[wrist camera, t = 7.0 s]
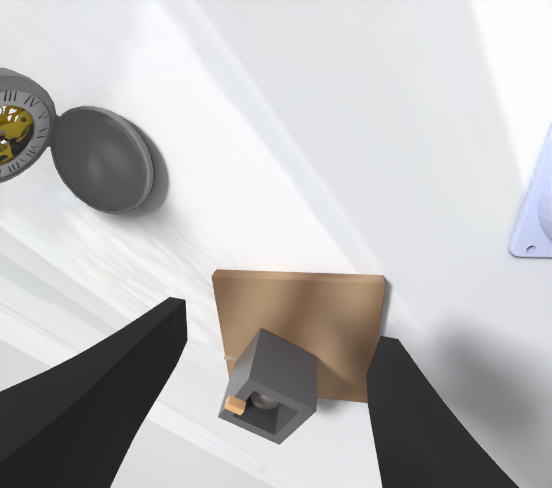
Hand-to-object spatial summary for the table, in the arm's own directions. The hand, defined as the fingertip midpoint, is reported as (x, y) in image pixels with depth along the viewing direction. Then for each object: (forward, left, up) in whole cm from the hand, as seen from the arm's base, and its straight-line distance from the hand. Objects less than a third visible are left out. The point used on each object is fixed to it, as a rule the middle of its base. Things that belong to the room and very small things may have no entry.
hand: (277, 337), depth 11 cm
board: (0, +9, -10) cm, 13 cm away
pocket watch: (+13, -6, -10) cm, 17 cm away
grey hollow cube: (+2, +11, -9) cm, 14 cm away
